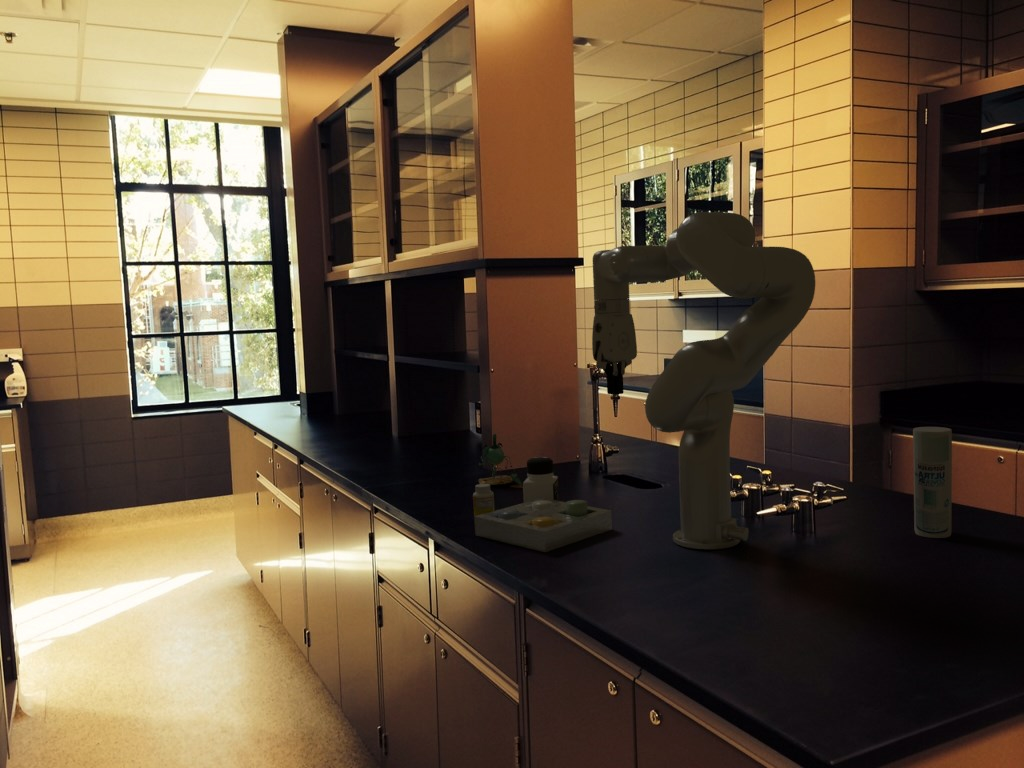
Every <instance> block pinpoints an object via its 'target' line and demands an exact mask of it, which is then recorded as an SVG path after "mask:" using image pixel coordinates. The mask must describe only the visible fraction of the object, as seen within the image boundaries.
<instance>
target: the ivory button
mask: <svg viewBox="0 0 1024 768" xmlns="http://www.w3.org/2000/svg"><path fill="white" fill-rule="evenodd" d="M532 508H534V509H539V510H545V509H548V508H552V502H551V501H535V502H532Z"/></svg>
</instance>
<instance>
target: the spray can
mask: <svg viewBox="0 0 1024 768" xmlns="http://www.w3.org/2000/svg"><path fill="white" fill-rule="evenodd" d="M952 443H953V431H952V428H948V427H941V426H918V427H913V429H912V445H913V448H912V449H913V450H912V453H913V455H912V456H913V463H912V464H913V511H914V512H913V513H914V514H913V518H914V519H913V521H914V526H913V527H914V529H913V530H914V533H915V534H916V535H917V536H919V537H925V538H929V539H945V538H949V537H950V536H952V510H953V509H952V491H953V490H952V486H953V485H952V482H953V481H952V476H953V474H952V473H953V471H952V470H953V466H952V465H953V464H952V463H953V461H952V460H953V455H952V454H953V444H952Z"/></svg>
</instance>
